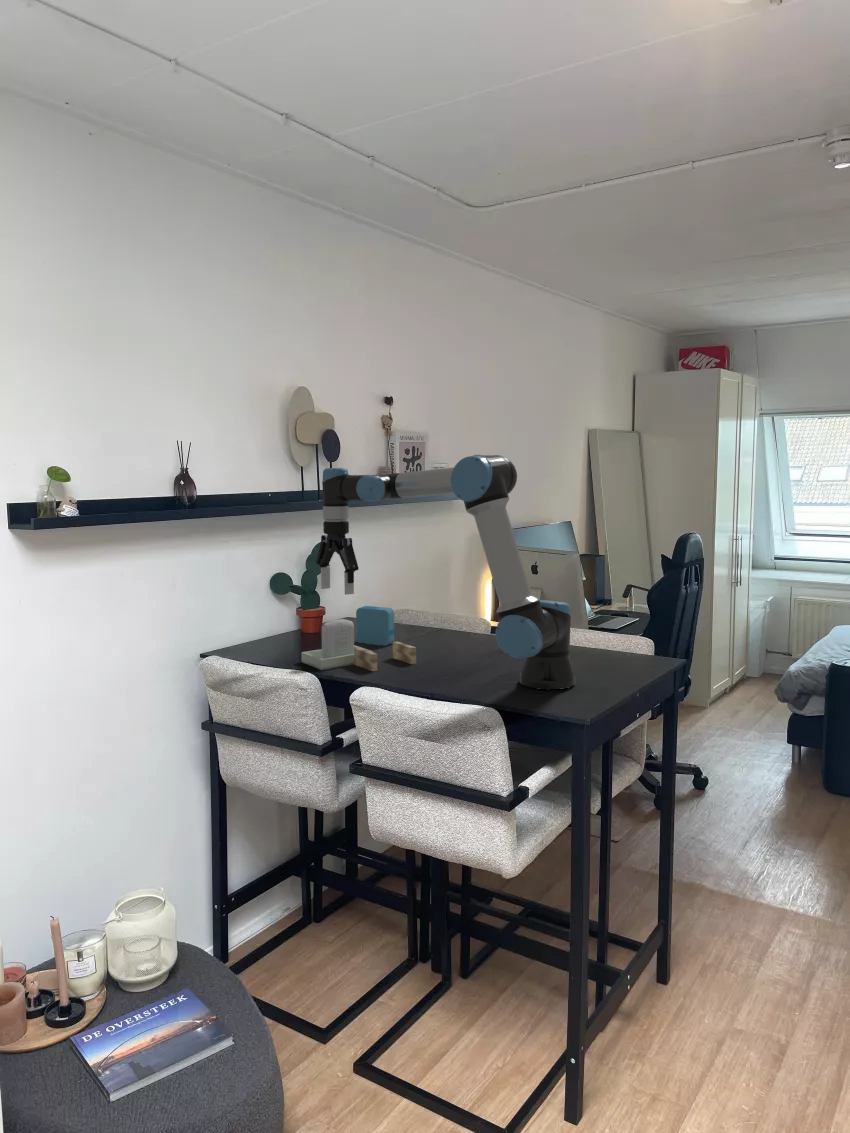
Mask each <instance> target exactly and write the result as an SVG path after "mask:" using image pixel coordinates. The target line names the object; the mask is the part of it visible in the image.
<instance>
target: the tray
mask: <svg viewBox="0 0 850 1133" xmlns="http://www.w3.org/2000/svg"><path fill="white" fill-rule="evenodd" d="M354 648H362V649H365V650H367V651H370V652H373V653H374V651H373V650H370V649H367V648H364V647H361V646H357V645H355V644H354ZM301 663H302V664H306V665H308V666H311V667H312V668H316V669H318V670H319V671H325V670H331V669H336V668H342V667H349V666H355V665H354V654H350V655H344V656H338V657H332V658H326V659H322V648H321V649H314V650H308V651H301Z"/></svg>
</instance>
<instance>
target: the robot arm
mask: <svg viewBox="0 0 850 1133" xmlns="http://www.w3.org/2000/svg"><path fill="white" fill-rule="evenodd" d="M517 480H518V472H517V469H516V467H515V465H514V463H513V462H512V461H511V460H510V459H508V458H507V457H505V456H502V455H496V454H495V455H493V454H492V455H489V454H488V455H487V454H486V455H485V454H484V455H483V454H474V455H470V456H469V455H468V456H465V457H463V458H461V459H460V460H459V461H458V462H457V463H456V464H455V466H454V467H445V468H435V469H426V470H416V471H408V472H407V471H406V472H405V471H404V472H398V473H397V472H395V473H394V472H393V473H386V474H385V473H383V474H349V471H348V469H347V468H345V467H326V468H324V469H323V470H322V482H321V484H322V485H321V486H322V500H323V501H322V503H323V504H322V519H323V520H324V521H323V524H322V526H323V534H324V535H323V534H322V535H321V536H320V545H319V549H318V553H317V556H316V561H315V563H316V565H319V568H320V578H321V579H320V582H321V583H320V585H321V586H320V589H322V590H324V589H330V588H331V568H330V567H331V565H330V562H331V560H332V558H333V556H334V554H335V553H336V554H337V555H339V558H340V560H341V563H342V565H343V567H344V572H343V574H344V576H343V577H344V581H343V582H344V595H345V596H346V595H347V596H348V595H353V594H355V584H354V582H355V572H357V571H359V569H360V568H359V565H358V561H357V557H356V553H355V550H354V546H353V539H352V537H346V535H347V534H349V533H350V532H349V531H350V522H349V521H348V519H349V518H350V517H349V510H350V509H349V501H350V502H351V501H352V502H367V503H369V502H370V503H372V502H378V501H382V500H383V501H384V500H397V499H406V498H421V497H431V496H432V497H435V496H443V495H444V496H447V495H455V496H456V497H457V498H458V499H459V500H461V501H463V504H464V507H465V510H466V511H465V512H466V513H468V514H469V515H471V516H473V518H474V521H475V523H476V527H477V530H478V534H479V538H480V541H481V544H482V547H483V551H484V553H485V558H486V562H487V564H488V565H487V566H488V567H489V571H490V575H491V578H492V581H493V582H492V583H493V585H494V588H495V592H496V595H497V598H498V601H499V606H498V607H497V609H496V616H497V620H498V622H497V626H496V628H495V633H494V634H495V640H496V642H497V645H498V647H499V648H500V649H501V651H502V652H504V654H505V655H507V656H509V657H511V658H513V659H517V660H518V659H519V660H520V659H521V660H522V659H524V662H523V665H522V670H521V671H520V673H519V683H520V684H521V685H522V686H523V685H524V687H526V686H527V687H526V688H529V687H531V688H530V689H533V688H540V689H560V688H567V687H571V686H573V685H574V684H575V685H576V675H575V673H574V671H573V669H574V668H573V666H572V661H571V657H570V649H571V648H570V647H571V646H570V644H571V619H572V614H571V606H570V604H569V603H567V602H564V601H556V600H548V599H547V600H546V599H539V598H537V597H536V596H534V595H533V594H532V591H531V589H530V586H529V582H528V578H527V575H526V572H525V569H524V568H525V567H524V566H523V561H522V558H521V554H520V551H519V548H518V544H517V542H516V541H517V540H516V538H515V534H514V531H513V527H512V525H511V521H510V518H509V514H508V511H507V505H508V502H509V501H510V497H509V494H510V493H511V492H512V491H513V490H514V488H515V487H516V484H517ZM573 687H574V686H573ZM571 688H572V687H571Z"/></svg>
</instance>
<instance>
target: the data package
mask: <svg viewBox="0 0 850 1133" xmlns="http://www.w3.org/2000/svg"><path fill="white" fill-rule="evenodd" d="M355 617H356V618H355V624H356V625H355V627H356V631H355V635H356V641H357V642H358V643H359V644H362V643H365V644H364V645H371V644H374V645H373V646H381V645H382V647H386V646H388V645H391V644H393V642H395V612H394V609H393V608H391V607H383V606H373V605H364V606H362V607H359V608H357V609H356V612H355Z"/></svg>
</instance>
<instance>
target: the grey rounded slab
mask: <svg viewBox="0 0 850 1133" xmlns="http://www.w3.org/2000/svg"><path fill="white" fill-rule="evenodd" d="M354 645H355V624H354V622H353V621H351V620H349V619H343V618H342V619H341V618H340V619H339V618H337V619H333V620H329V621H327V622H325V623H323V624H322V626H321V649H322V659H326V658H332V657H338V656H344V655H350V654H354Z"/></svg>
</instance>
